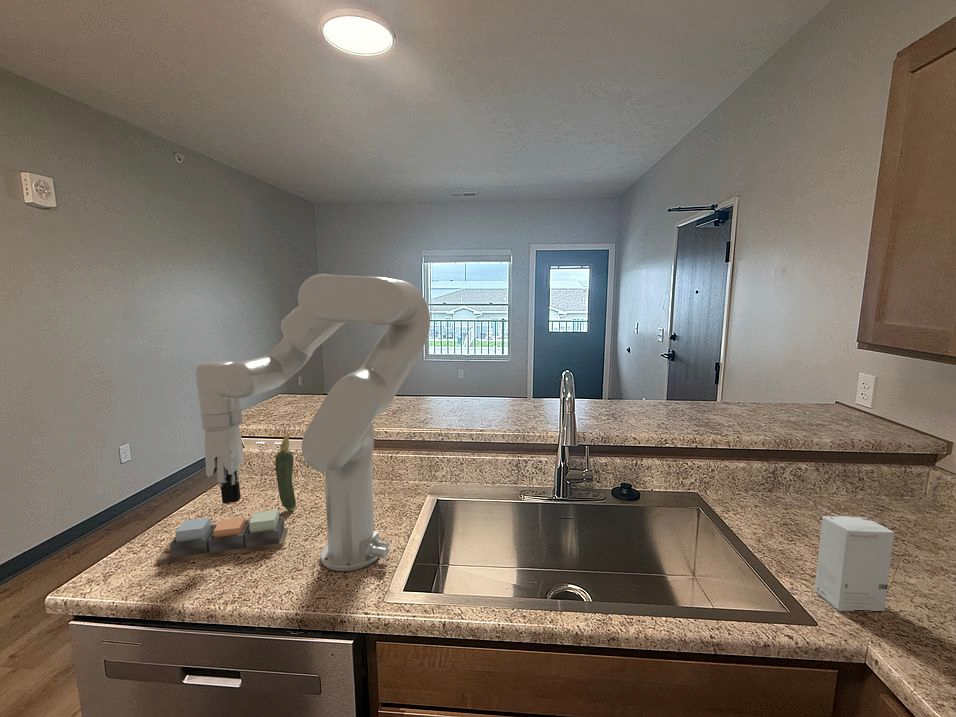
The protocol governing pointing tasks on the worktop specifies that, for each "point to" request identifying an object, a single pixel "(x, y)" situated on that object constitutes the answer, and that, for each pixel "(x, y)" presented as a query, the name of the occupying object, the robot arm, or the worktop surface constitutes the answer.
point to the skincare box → (854, 563)
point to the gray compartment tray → (224, 544)
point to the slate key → (193, 529)
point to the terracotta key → (230, 527)
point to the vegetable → (285, 475)
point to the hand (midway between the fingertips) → (231, 501)
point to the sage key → (264, 521)
